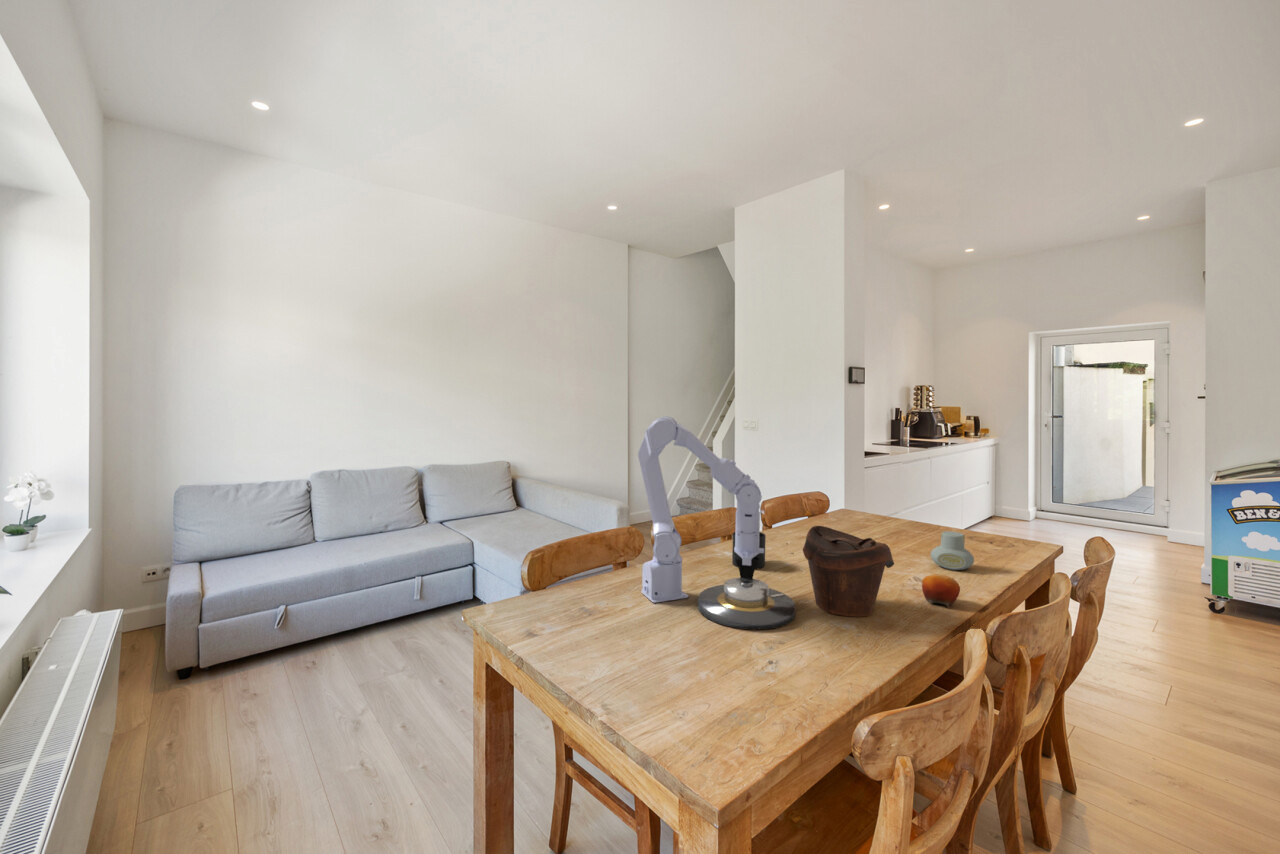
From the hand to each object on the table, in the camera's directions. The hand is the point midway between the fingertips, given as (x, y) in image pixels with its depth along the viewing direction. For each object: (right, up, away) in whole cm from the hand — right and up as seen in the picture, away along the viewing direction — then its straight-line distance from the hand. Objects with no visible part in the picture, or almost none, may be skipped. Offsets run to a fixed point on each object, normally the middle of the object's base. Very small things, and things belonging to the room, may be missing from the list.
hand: (746, 585), depth 131 cm
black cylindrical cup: (+7, -2, +29) cm, 30 cm away
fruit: (+47, -4, -1) cm, 47 cm away
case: (+23, -4, -4) cm, 23 cm away
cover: (-1, -2, -6) cm, 6 cm away
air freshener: (+65, -3, +27) cm, 70 cm away
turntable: (-1, -4, -6) cm, 7 cm away
